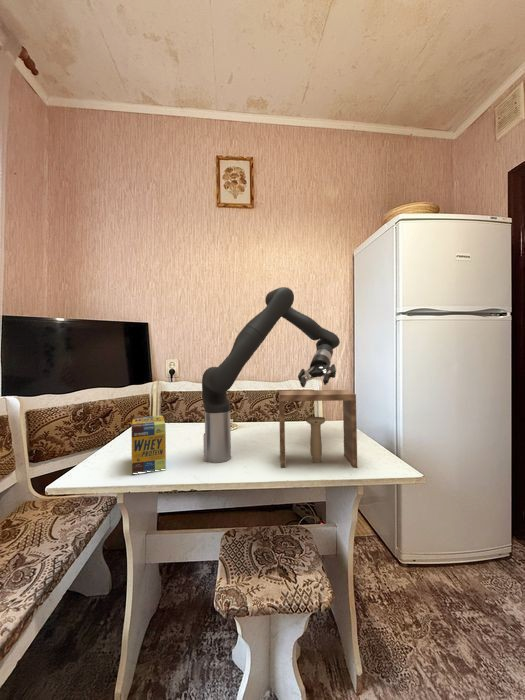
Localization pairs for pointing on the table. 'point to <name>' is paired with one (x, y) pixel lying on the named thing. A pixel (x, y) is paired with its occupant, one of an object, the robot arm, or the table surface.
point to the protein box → (148, 444)
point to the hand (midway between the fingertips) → (313, 384)
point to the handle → (315, 437)
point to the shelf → (324, 395)
